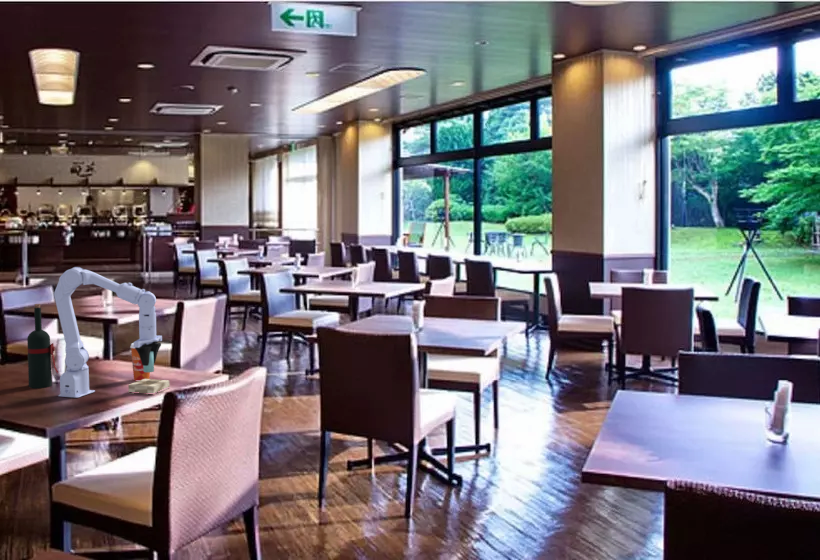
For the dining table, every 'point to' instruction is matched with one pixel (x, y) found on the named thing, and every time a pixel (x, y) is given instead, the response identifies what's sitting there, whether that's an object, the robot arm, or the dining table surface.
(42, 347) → the wine bottle
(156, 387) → the socket block
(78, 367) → the robot arm
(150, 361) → the peg
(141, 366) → the paper cup
